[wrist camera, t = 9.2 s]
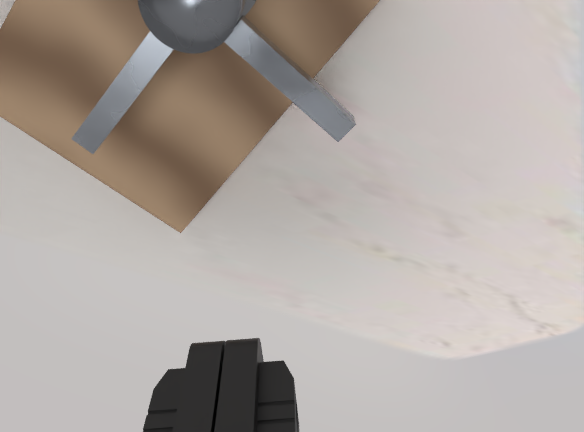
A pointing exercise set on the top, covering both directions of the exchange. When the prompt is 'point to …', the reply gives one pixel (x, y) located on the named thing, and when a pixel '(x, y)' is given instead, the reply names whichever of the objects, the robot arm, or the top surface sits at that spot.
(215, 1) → the capstan
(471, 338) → the top surface
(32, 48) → the board
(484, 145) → the top surface
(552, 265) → the top surface
